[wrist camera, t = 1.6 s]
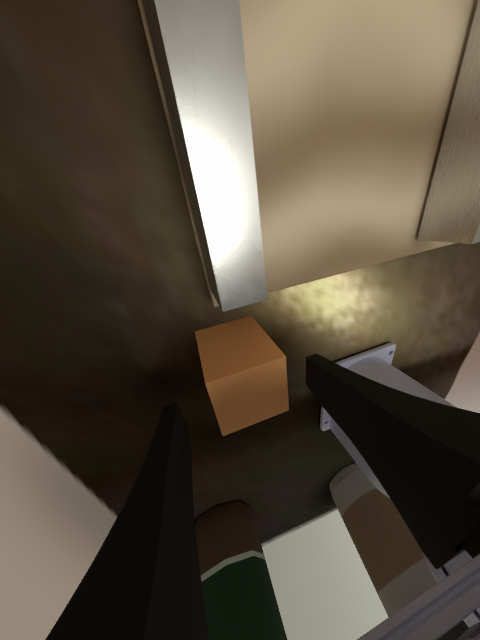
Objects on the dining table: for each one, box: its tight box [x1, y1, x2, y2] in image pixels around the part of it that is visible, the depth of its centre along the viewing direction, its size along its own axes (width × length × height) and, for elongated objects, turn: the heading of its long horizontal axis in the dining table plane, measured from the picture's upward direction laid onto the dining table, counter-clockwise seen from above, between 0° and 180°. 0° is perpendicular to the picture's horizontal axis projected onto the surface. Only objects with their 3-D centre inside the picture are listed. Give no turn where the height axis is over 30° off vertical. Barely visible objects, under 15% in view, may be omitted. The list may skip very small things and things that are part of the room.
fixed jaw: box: [142, 0, 268, 312], centre depth 7 cm, size 10×2×3 cm, turn 10°
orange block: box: [195, 316, 289, 436], centre depth 12 cm, size 4×4×5 cm
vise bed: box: [138, 0, 478, 307], centre depth 11 cm, size 12×23×2 cm, turn 100°
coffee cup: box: [329, 463, 469, 640], centre depth 25 cm, size 11×11×15 cm
